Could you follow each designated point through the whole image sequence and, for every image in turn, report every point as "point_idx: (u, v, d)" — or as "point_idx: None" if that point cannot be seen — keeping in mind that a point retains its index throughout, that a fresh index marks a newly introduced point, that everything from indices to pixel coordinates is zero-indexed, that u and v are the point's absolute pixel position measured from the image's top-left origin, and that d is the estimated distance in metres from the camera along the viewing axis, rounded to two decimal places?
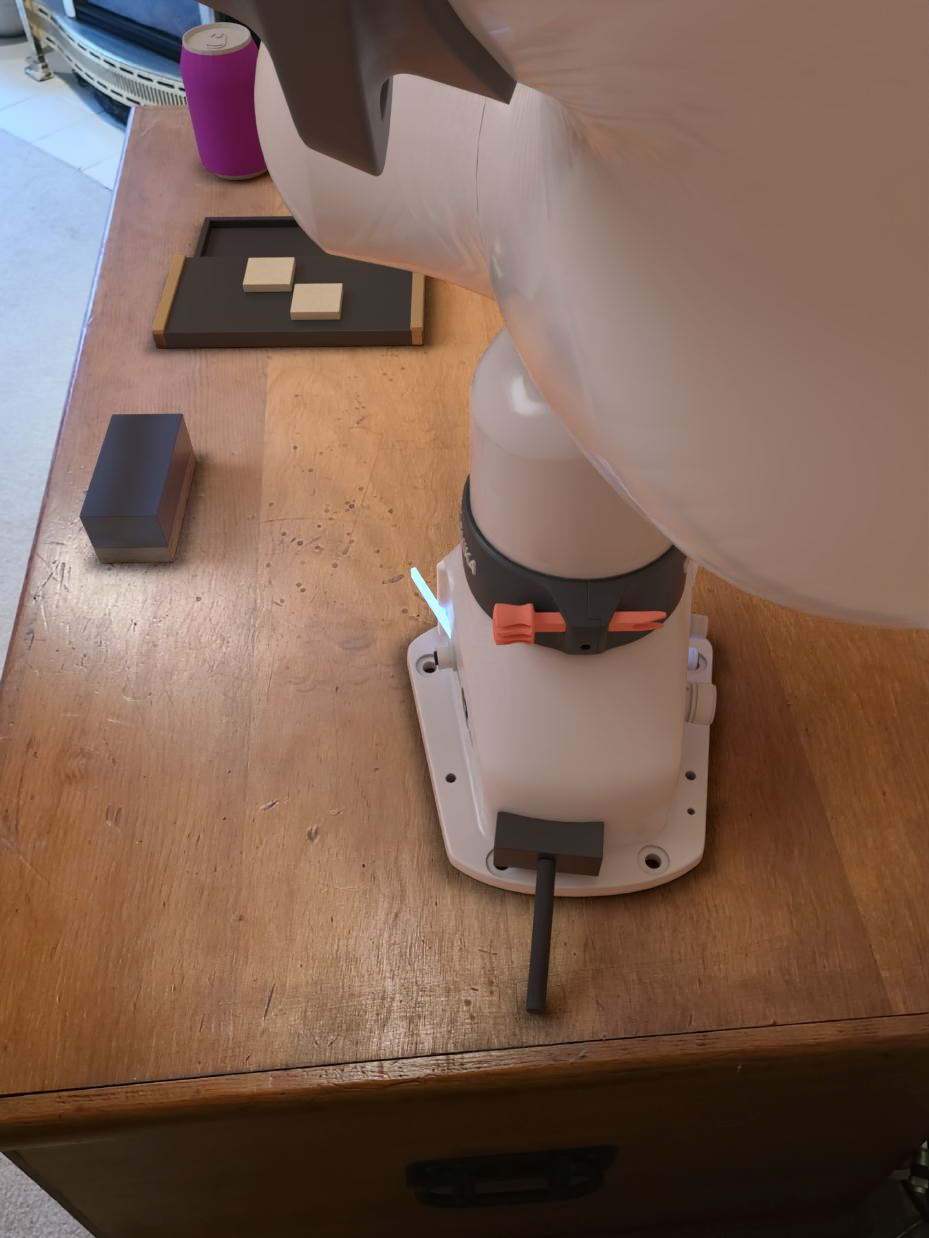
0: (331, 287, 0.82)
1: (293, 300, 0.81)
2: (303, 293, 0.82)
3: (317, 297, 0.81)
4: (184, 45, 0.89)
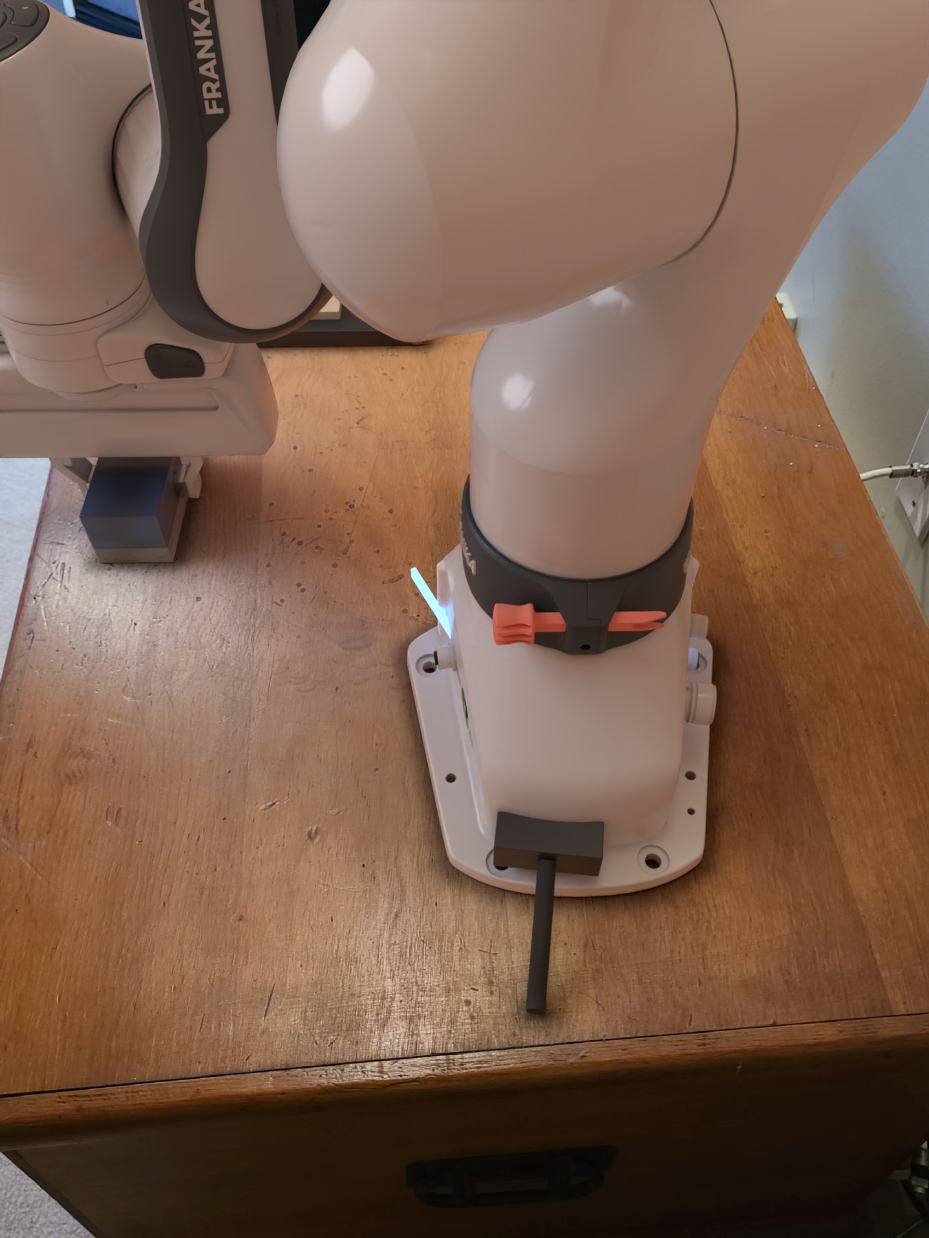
0: None
1: None
2: None
3: None
4: None
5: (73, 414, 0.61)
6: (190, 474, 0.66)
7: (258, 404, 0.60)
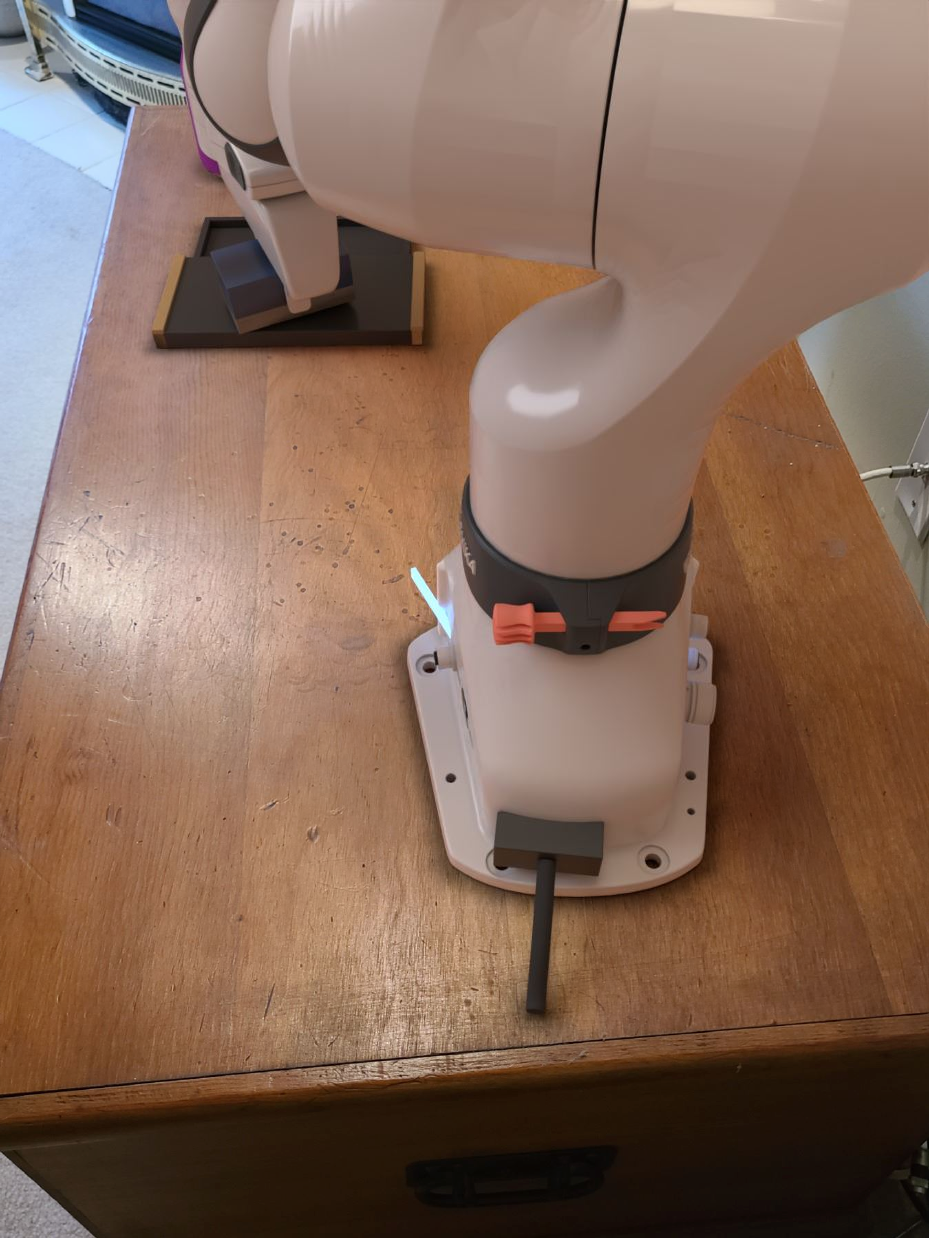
0: None
1: None
2: None
3: None
4: None
5: None
6: (284, 287, 0.76)
7: (283, 249, 0.68)
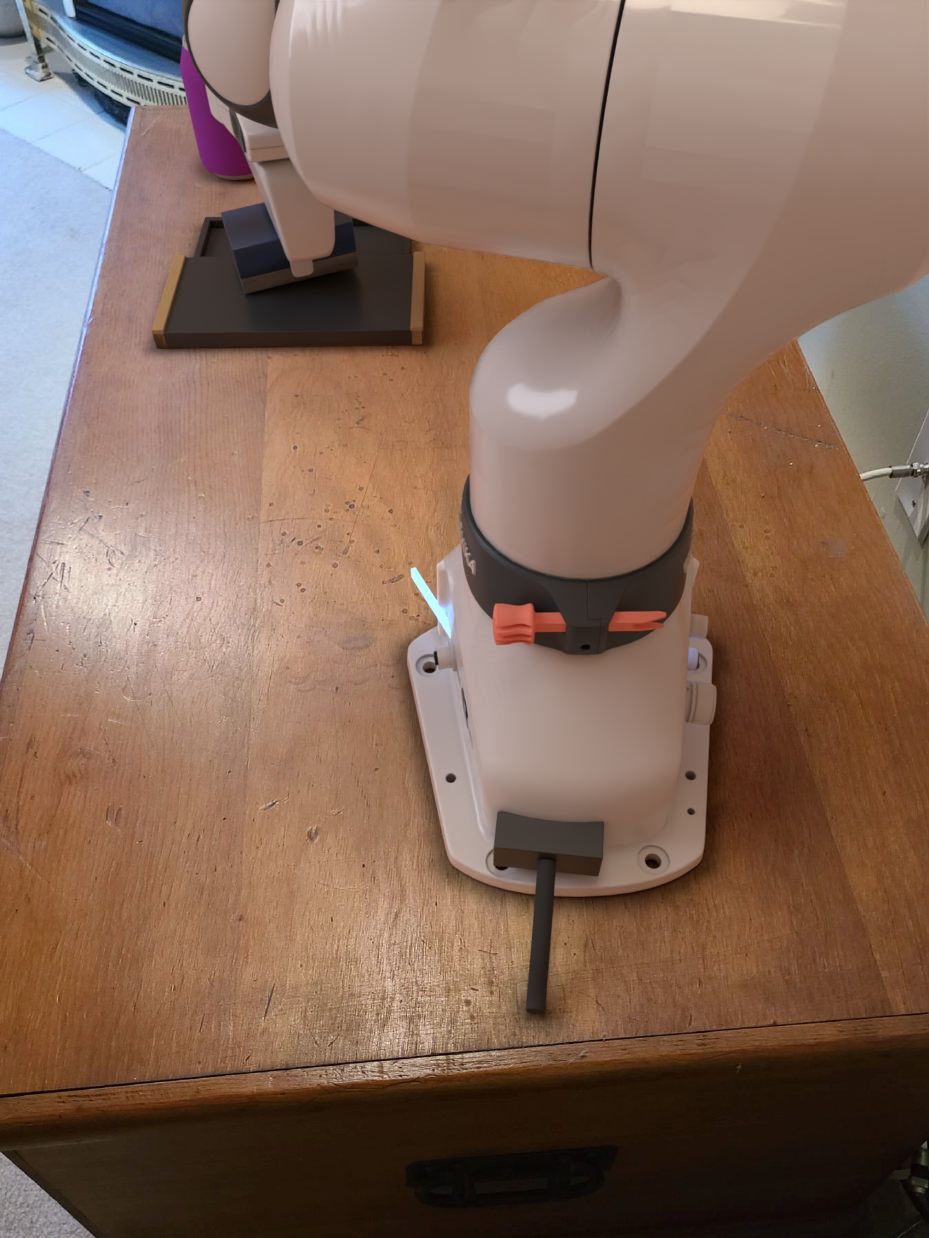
0: None
1: None
2: None
3: None
4: (184, 45, 0.89)
5: None
6: None
7: (280, 212, 0.71)
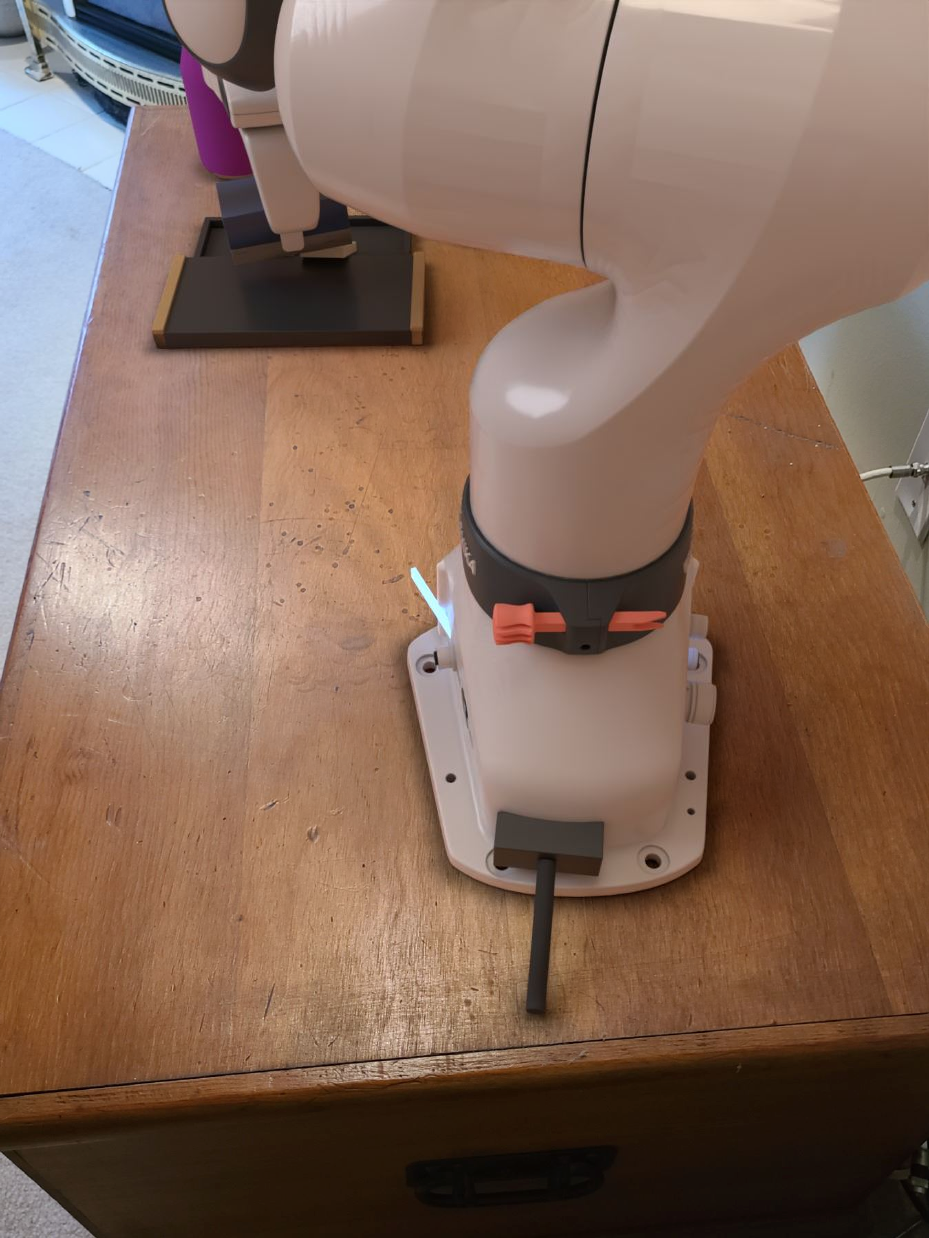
0: None
1: None
2: None
3: None
4: None
5: None
6: None
7: (262, 180, 0.70)
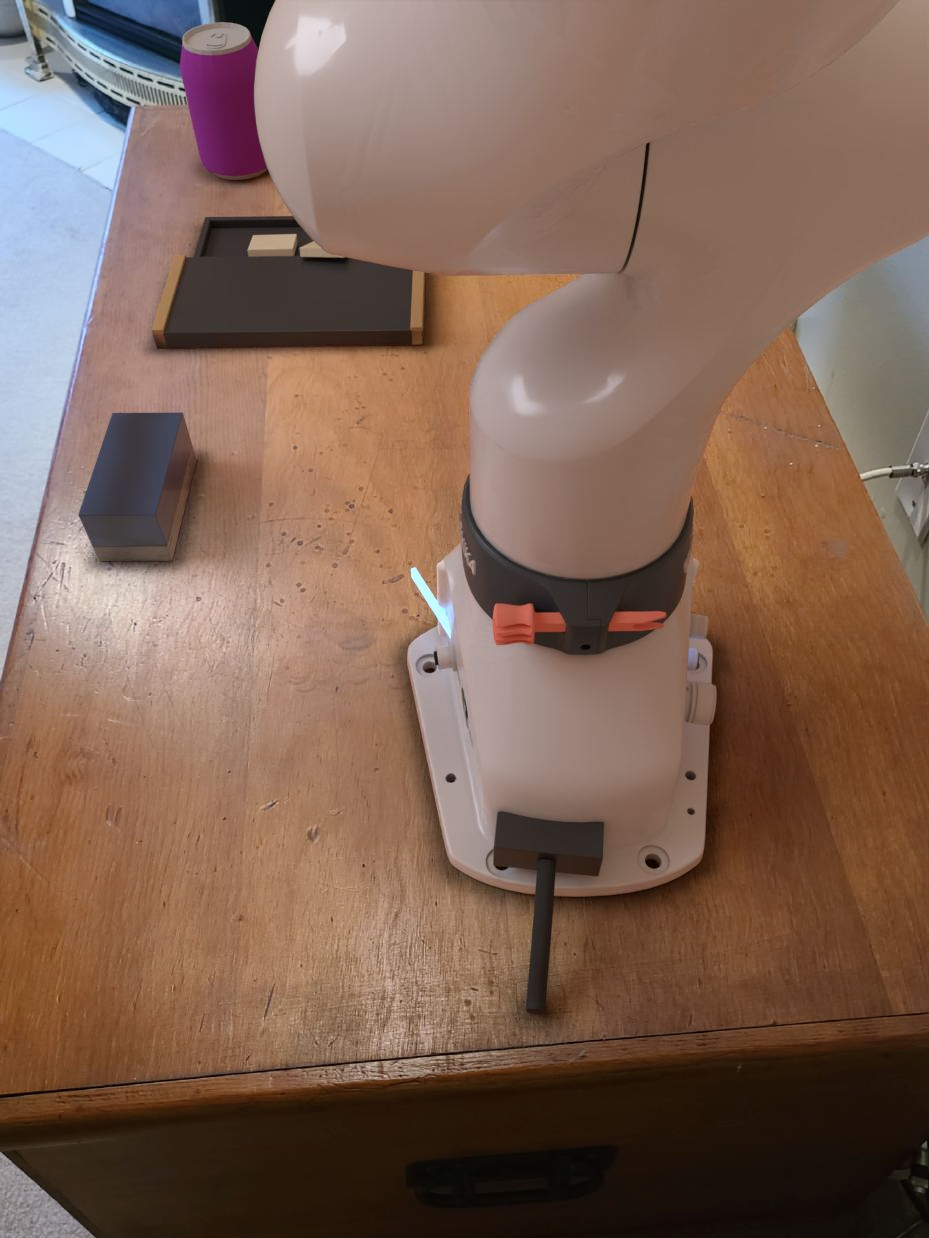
0: None
1: None
2: None
3: None
4: (184, 45, 0.89)
5: None
6: None
7: None
